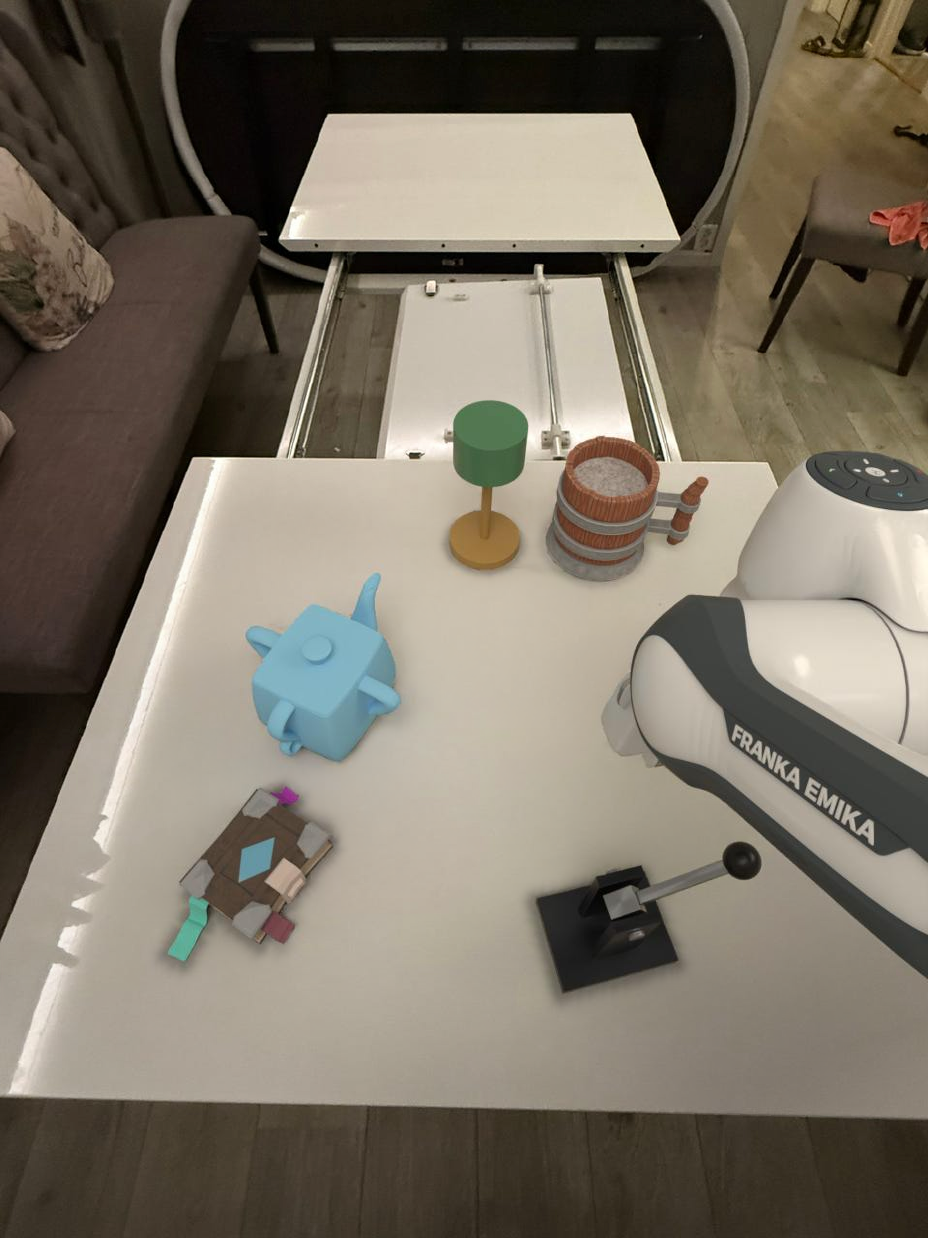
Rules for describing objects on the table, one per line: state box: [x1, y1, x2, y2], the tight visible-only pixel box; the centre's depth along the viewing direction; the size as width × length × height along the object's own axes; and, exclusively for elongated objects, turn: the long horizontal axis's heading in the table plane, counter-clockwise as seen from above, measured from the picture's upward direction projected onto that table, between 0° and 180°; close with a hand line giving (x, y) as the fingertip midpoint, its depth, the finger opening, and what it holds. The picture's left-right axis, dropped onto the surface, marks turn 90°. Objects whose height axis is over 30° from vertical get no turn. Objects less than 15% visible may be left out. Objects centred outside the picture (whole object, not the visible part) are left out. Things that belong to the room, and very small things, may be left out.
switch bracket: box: [535, 864, 679, 995], centre depth 70 cm, size 12×9×13 cm
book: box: [166, 786, 334, 962], centre depth 75 cm, size 20×12×5 cm, turn 148°
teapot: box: [245, 572, 402, 763], centre depth 84 cm, size 18×16×14 cm
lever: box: [603, 840, 763, 921], centre depth 65 cm, size 14×3×3 cm, turn 103°
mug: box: [545, 435, 710, 582], centre depth 99 cm, size 14×19×15 cm
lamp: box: [448, 399, 529, 571], centre depth 96 cm, size 10×10×22 cm
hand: (703, 750), depth 62 cm, fingers open, 8 cm apart
